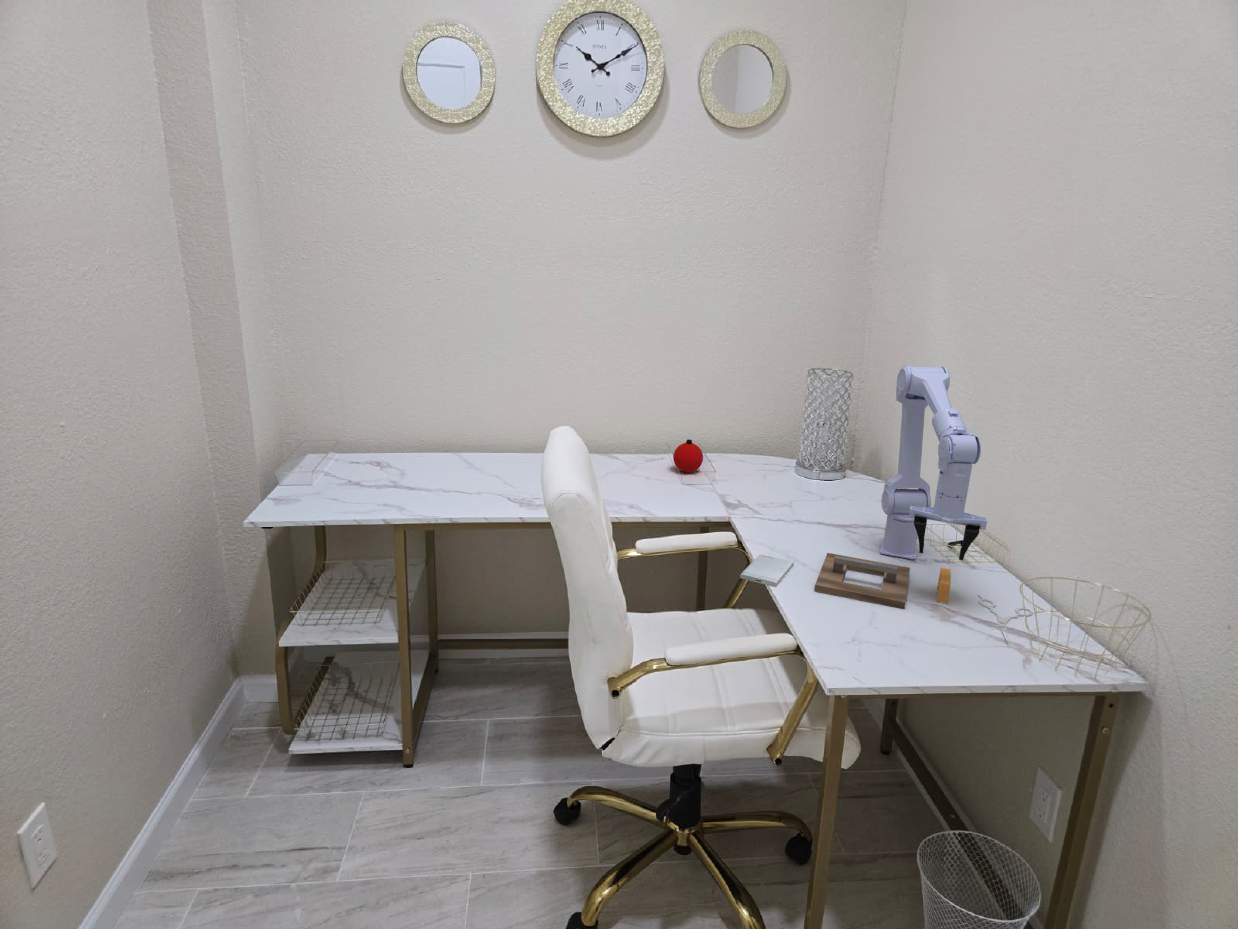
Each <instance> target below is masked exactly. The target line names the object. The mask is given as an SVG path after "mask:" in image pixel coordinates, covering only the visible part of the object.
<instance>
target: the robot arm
mask: <svg viewBox="0 0 1238 929" xmlns="http://www.w3.org/2000/svg"><path fill="white" fill-rule="evenodd" d="M950 384H951V374H950V371H949V370H948V368H947V367H946V366H939V367H938V366H937V367H936V366H911V365H903V366H902V367H901V368H900V369H899V371H898V373H897V376H896V386H895V387H896V388H895V396H896V399H895V400H896V401H897V402H898V403H901V411H902V412H901V422H900V438H899V452H898V466H897V474H895V475H894V476H892V477H890V478H889V479H887V480H886V481H885V483H884V485H883V492H882V495H881V509H882V511H883V513H884V514H885V515H887V516H886V524H885V529H884V531H885V532H884V536H883V538H882V540H881V545H880V549H879V554H881V555H886V556H891V557H898V558H902V559H908V560H913V561H914V560H916V559H917V553H918V552H917V551H918V550H919V553H920V554H923V553H924V549H925V536H926V529H927V523H928V520H929V521H930V520H931V521H935V522H941V523H945V524H953V525H959V526H960V525H961V526H964V534H963V538H962V539H963V540H962V544H961V547H960V551H959V556H958V560H959V561H963V560H964V558H965V555H966V553H967V551H968V549H969V548H970V546H971V545H972V543H973V542H974V541H975V540H976V538H977V537H978V536H979V534H980V530H984V531H986V529H987V523H988V517H985V516H979V515H975V514H971V513H968V512H965V509H966V502H967V498H968V492H969V486H970V480H971V475H972V468H973V465H975V464H977V463H978V462H979V460H980V458H981V453H982V444H981V441H980V438H979V436H978V435H977V434H973V432H970V431H969V430H968V428H967V425H966V424H965V421H964V419H963V417H962V414H961V413H960V411H959V410H957V409H955V408H952V404H951V400H950V397H949V394H948V390H949V388H950ZM928 406H929V408H930V410H931V412H932V413H933V417H932V420H931V425H932V427H933V431H934V432H935V435H936V437H937V439H938V442H939V444H938V445H937V446H938V447H937V448H938V449H937V454H938V462H937V468H938V469H939V474H938V479H937V486H936V491H935V497H934V498H935V499H934V503H933V506H932V497H931V487H930V486H931V485H930V484H929V482H927V481H926V480H925V479H923V478H922V477H921V468H922V467H921V466H922V455H923V453H922V452H923V441H924V439H923V438H924V428H925V411H926V408H927V407H928ZM917 542H918V543H917ZM918 546H919V549H918Z"/></svg>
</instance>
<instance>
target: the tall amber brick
mask: <svg viewBox="0 0 1238 929" xmlns="http://www.w3.org/2000/svg"><path fill="white" fill-rule="evenodd" d="M939 569H940V571H939V576H938V581H937V588H936V590H938V591H937V597H936V602H937V603H940V602H941V604H946V605H947V604H948V600H949V596H950V590H951V584H952V583H951V579H952V578H951V577H952V574H951V573H952V570H951V568H946V567H940V568H939Z"/></svg>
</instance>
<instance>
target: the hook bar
mask: <svg viewBox="0 0 1238 929" xmlns="http://www.w3.org/2000/svg"><path fill="white" fill-rule="evenodd" d="M844 565H848V566H853V567H859V568H864V569H870V570H875V571H881V572H886V573H887V574H886V581H885V582H888V583H894V584H895V582H896V576H897V569H898V567H895V566H889V565H884V564H878V563H873V562H867V561H862V560H856V559H850V558H845V557H839V556H835V558H834V564H833V572H835V573H841V574H842V572H843V567H844Z"/></svg>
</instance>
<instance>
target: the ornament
mask: <svg viewBox="0 0 1238 929" xmlns="http://www.w3.org/2000/svg"><path fill="white" fill-rule="evenodd" d="M672 459H673V463H674V465H675V467H676V468H677V469H678V470H679V471H681V472H684V473H693V472H695V471H697V470H698V469H699V468H700V467H701V466H702V465H703V462H704V454H703V451H702V449H701V447H699V445H697V444H695V443H694V442H693V440H692V439H690V438H689V439H686V441H685V442H683V443H681V444H679V445H678V446H677V447H676V448H675V450H674V451H673V458H672Z"/></svg>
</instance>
